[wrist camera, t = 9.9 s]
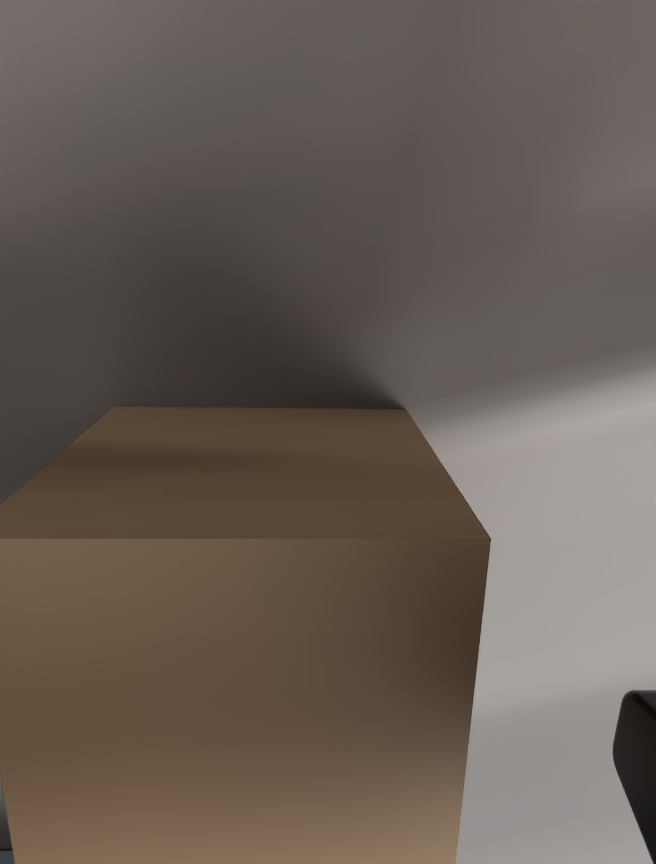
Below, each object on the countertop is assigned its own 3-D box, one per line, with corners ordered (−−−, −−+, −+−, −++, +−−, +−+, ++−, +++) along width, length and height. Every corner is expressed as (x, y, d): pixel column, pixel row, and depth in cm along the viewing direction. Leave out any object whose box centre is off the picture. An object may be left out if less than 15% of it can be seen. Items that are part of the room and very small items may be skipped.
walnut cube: (390, 651, 12) (449, 913, 7) (135, 653, 12) (25, 926, 7) (405, 408, 11) (490, 538, 6) (115, 405, 10) (-40, 538, 6)
